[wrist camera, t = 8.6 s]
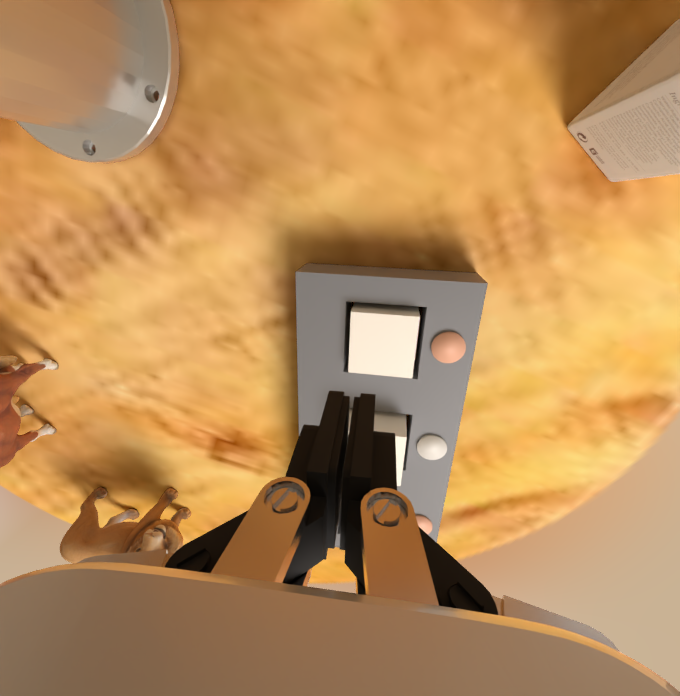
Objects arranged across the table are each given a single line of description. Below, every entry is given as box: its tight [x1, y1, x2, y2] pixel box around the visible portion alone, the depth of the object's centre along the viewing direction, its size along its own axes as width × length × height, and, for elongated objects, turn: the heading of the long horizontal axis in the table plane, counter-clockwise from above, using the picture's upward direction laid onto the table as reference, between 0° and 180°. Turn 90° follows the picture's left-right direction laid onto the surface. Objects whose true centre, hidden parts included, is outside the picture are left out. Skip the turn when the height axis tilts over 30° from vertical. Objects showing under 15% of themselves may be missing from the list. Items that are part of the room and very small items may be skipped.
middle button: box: [348, 408, 407, 486], centre depth 25 cm, size 4×4×4 cm
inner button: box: [348, 302, 420, 378], centre depth 23 cm, size 4×4×4 cm
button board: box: [296, 263, 488, 547], centre depth 26 cm, size 23×11×3 cm, turn 178°
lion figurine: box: [60, 487, 191, 564], centre depth 32 cm, size 15×5×9 cm, turn 106°
